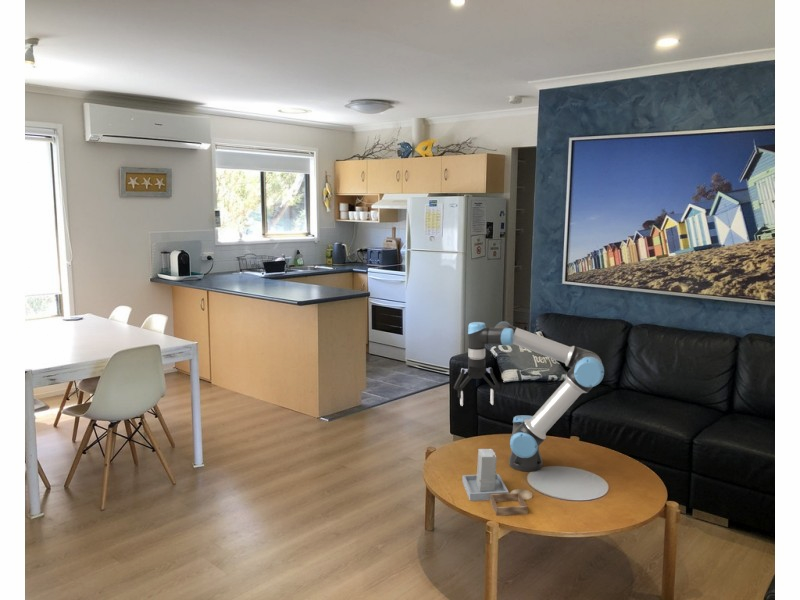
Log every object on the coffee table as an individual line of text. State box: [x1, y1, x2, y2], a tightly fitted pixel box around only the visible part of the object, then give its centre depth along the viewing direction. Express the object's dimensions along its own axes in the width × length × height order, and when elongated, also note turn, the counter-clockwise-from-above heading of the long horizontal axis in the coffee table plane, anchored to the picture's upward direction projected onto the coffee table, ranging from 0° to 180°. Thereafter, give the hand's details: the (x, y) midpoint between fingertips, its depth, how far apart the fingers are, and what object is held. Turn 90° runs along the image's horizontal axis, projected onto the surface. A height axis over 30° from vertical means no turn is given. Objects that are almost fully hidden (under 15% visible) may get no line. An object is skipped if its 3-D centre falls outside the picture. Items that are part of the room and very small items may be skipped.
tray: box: [461, 473, 510, 502], centre depth 256 cm, size 16×18×3 cm
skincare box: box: [476, 448, 498, 492], centre depth 255 cm, size 8×7×16 cm
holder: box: [489, 492, 528, 516], centre depth 241 cm, size 12×12×3 cm
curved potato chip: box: [509, 488, 534, 501], centre depth 251 cm, size 9×9×1 cm
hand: (476, 404), depth 270 cm, fingers open, 13 cm apart
